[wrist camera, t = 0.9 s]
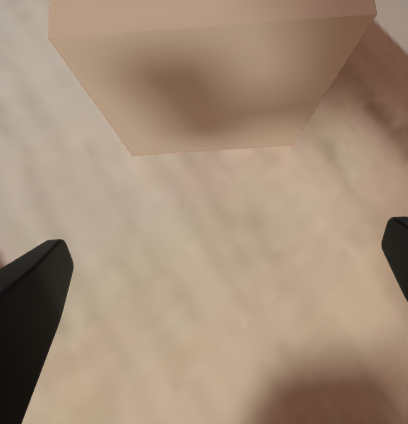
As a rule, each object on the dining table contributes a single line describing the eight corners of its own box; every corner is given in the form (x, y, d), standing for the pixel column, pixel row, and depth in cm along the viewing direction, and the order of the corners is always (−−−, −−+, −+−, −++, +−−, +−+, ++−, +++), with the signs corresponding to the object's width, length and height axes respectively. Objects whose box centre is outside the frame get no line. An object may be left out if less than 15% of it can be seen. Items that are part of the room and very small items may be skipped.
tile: (292, 145, 23) (377, 14, 11) (132, 156, 23) (47, 38, 11) (288, 117, 23) (366, -39, 11) (132, 128, 23) (50, -15, 12)
